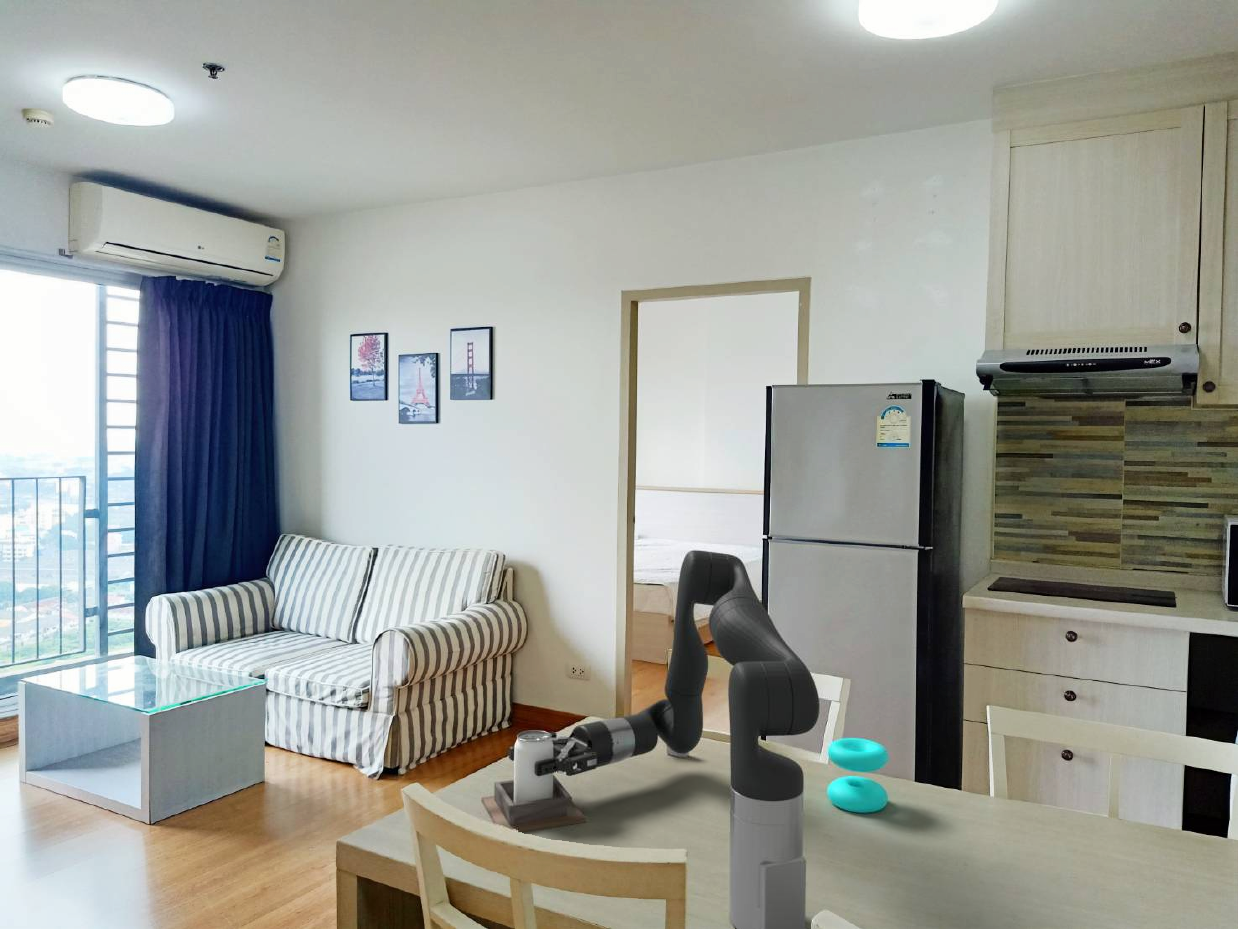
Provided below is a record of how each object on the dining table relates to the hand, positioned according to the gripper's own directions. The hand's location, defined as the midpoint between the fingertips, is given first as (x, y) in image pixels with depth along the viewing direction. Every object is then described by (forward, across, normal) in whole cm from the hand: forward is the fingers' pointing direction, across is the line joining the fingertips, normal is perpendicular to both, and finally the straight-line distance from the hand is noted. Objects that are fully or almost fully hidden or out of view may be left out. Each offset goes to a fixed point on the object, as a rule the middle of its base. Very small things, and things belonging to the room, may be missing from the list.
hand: (522, 761), depth 144 cm
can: (-2, 0, +8) cm, 8 cm away
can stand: (-2, 0, +9) cm, 9 cm away
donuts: (-49, +29, +9) cm, 58 cm away
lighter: (-38, -8, +9) cm, 40 cm away
